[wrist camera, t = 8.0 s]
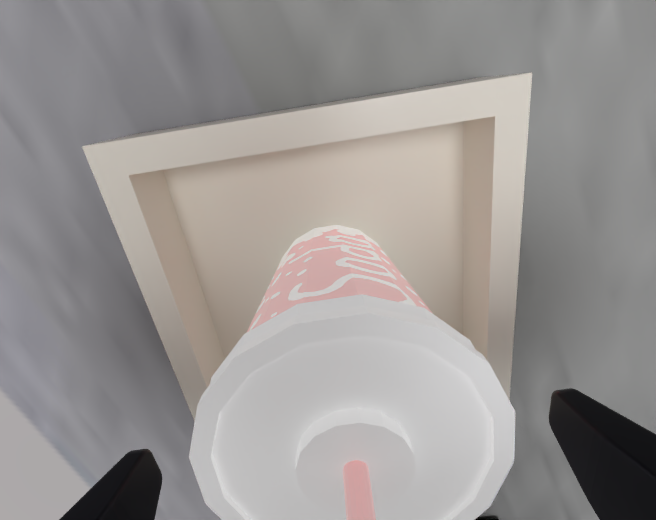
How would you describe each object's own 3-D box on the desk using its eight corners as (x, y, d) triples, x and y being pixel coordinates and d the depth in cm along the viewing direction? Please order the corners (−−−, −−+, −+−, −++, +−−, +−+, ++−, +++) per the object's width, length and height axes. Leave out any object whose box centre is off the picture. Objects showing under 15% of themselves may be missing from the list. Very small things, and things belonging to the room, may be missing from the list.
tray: (475, 358, 19) (508, 411, 16) (225, 394, 19) (208, 454, 16) (480, 77, 14) (532, 72, 10) (134, 134, 14) (81, 146, 11)
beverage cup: (434, 244, 15) (1275, 1062, 2) (365, 362, 17) (544, 1212, 4) (295, 179, 14) (-40, 951, 1) (238, 311, 16) (-165, 1236, 3)
